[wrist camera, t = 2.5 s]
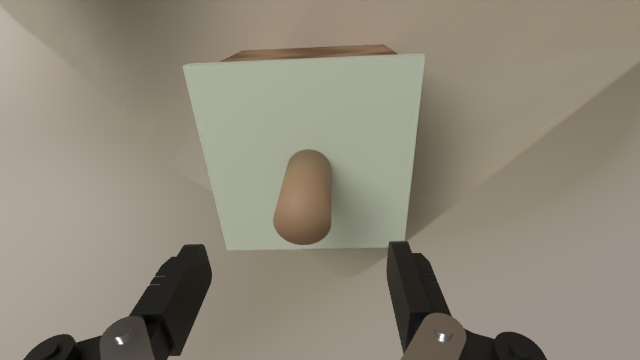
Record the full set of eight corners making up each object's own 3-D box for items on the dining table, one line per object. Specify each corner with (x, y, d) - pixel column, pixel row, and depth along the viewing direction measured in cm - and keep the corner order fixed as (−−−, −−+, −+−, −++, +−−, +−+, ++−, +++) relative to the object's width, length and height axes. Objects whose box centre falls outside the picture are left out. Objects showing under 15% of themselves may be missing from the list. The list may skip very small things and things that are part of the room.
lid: (420, 53, 18) (465, 75, 12) (401, 239, 25) (424, 313, 19) (189, 63, 19) (122, 89, 13) (230, 241, 26) (199, 314, 20)
